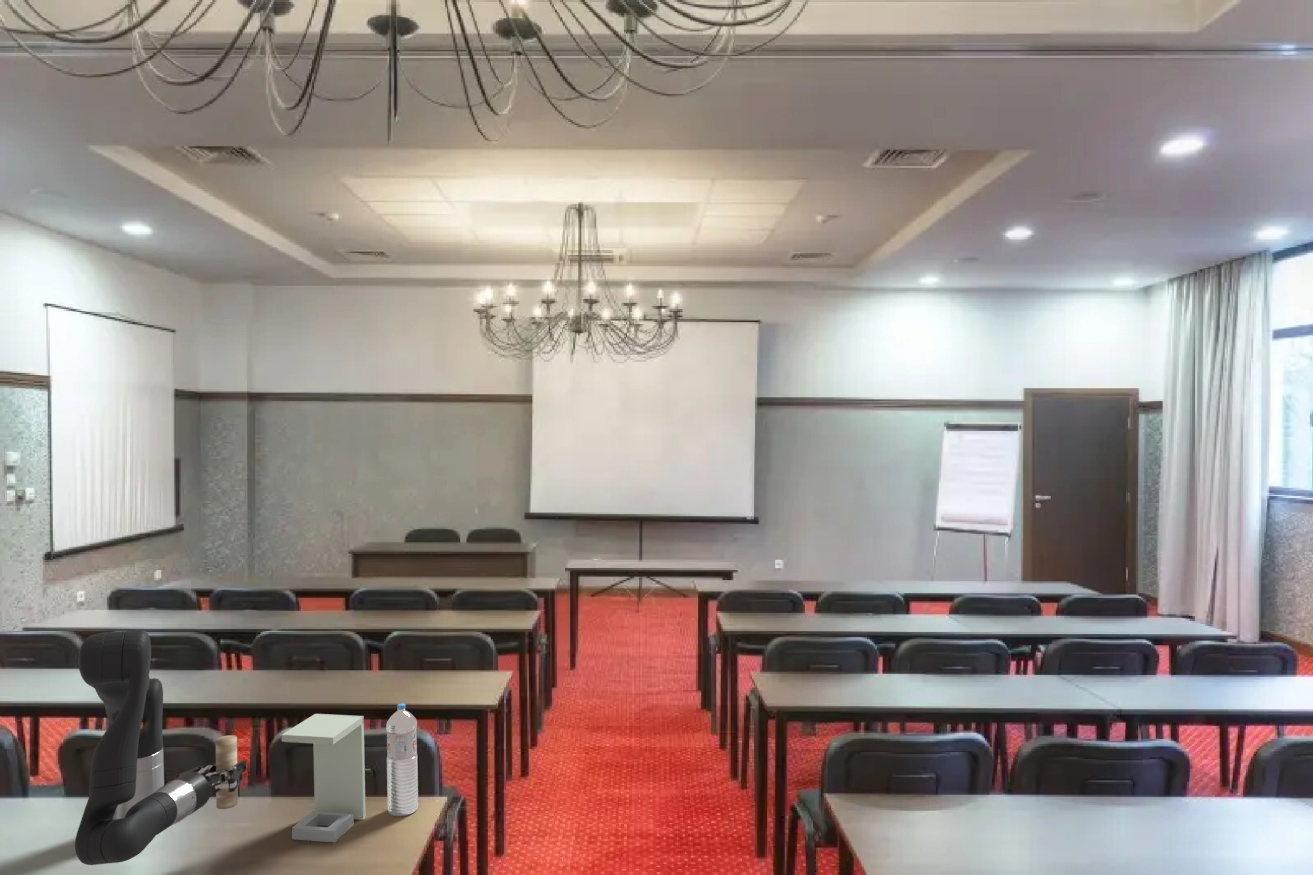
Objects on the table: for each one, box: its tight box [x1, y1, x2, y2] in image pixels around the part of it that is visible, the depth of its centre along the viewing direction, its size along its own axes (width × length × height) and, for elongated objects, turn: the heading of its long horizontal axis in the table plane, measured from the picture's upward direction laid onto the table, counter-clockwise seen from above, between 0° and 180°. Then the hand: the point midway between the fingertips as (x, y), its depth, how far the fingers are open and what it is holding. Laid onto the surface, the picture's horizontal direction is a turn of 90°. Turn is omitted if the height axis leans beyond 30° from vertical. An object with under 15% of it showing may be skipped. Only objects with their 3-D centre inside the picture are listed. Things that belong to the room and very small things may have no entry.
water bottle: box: [385, 702, 419, 817], centre depth 197 cm, size 7×7×25 cm
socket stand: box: [281, 713, 366, 843], centre depth 188 cm, size 12×13×24 cm
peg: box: [215, 734, 239, 810], centre depth 178 cm, size 4×4×14 cm
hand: (234, 764), depth 180 cm, fingers closed on peg, 4 cm apart
